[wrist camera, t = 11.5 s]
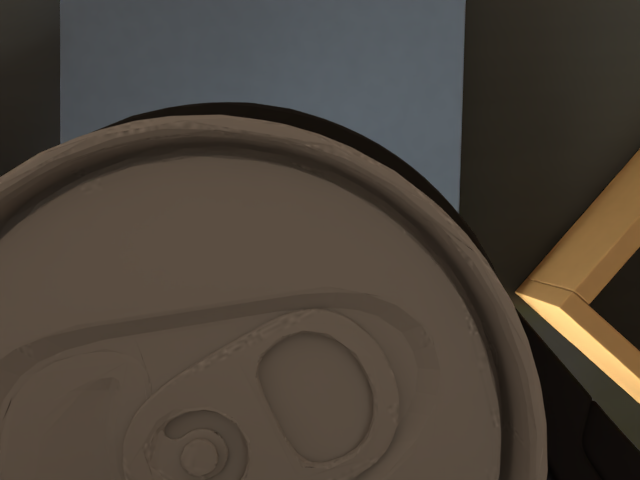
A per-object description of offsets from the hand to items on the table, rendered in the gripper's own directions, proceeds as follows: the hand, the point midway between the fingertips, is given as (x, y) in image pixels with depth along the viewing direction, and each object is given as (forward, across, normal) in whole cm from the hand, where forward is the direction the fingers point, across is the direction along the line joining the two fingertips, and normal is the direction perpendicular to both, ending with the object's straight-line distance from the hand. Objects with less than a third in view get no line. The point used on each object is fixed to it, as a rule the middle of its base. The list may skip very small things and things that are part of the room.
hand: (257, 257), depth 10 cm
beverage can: (+4, 0, +6) cm, 7 cm away
